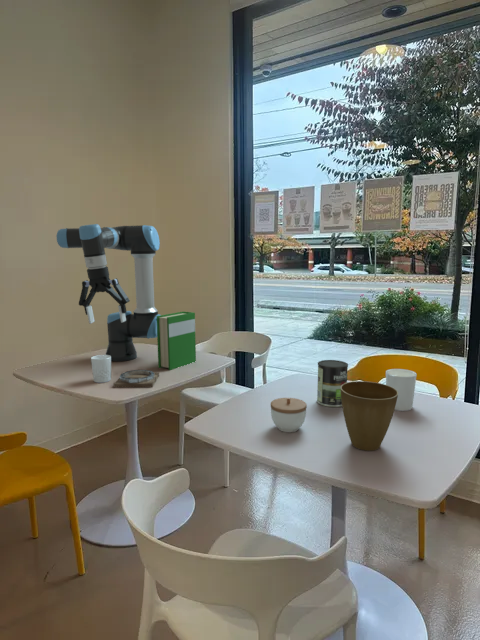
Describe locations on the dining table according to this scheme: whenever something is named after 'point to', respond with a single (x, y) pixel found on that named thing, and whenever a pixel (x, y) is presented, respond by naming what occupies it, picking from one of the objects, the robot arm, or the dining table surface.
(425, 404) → the dining table surface
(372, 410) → the plant pot
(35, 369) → the dining table surface
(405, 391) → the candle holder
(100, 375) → the white cup
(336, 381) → the coffee can
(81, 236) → the robot arm
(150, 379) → the ring holder
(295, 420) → the lidded jar
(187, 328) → the hardback book
